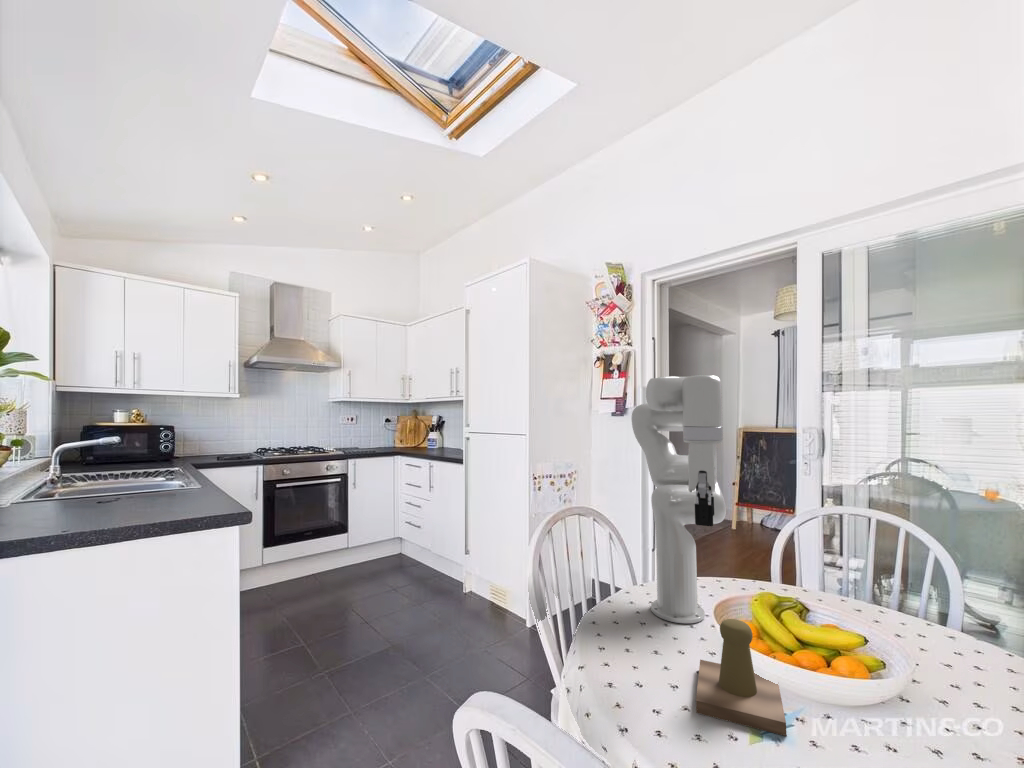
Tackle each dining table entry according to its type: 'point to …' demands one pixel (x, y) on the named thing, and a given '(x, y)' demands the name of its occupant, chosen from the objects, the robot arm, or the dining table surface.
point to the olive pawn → (737, 659)
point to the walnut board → (740, 702)
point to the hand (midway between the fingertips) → (705, 520)
